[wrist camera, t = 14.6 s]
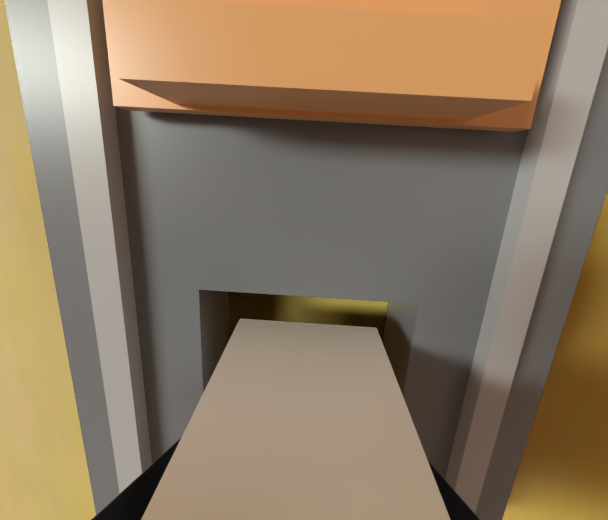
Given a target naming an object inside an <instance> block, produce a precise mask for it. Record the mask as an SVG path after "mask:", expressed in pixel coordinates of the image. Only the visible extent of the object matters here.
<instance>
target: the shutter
mask: <svg viewBox="0 0 608 520" xmlns="http://www.w3.org/2000/svg"><path fill="white" fill-rule="evenodd" d="M102 2H103V11H104V21H105V30H106V40H107V49H108V59H109V68H110V78H111V87H112V97H113V106H116V107H119V108H123V109H126V110H129V111H147V112H165V113H183V114H201V115H219V116H237V117H255V118H273V119H291V120H309V121H327V122H345V123H363V124H381V125H399V126H417V127H435V128H453V129H471V130H489V131H507V132H515V131H521V130H527V129H531V124H532V120H533V116H534V112H535V108H536V104H537V99H538V95H539V91H540V87H541V83H542V78H543V74H544V70H545V66H546V62H547V58H548V53H549V49H550V45H551V41H552V37H553V33H554V28H555V24H556V20H557V16H558V12H559V8H560V3H561V0H102Z"/></svg>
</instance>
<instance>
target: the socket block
mask: <svg viewBox="0 0 608 520" xmlns="http://www.w3.org/2000/svg"><path fill="white" fill-rule="evenodd" d="M4 1H5V7H6V12H7V18H8V23H9V29H10V35H11V40H12V46H13V51H14V57H15V63H16V68H17V74H18V79H19V85H20V91H21V96H22V102H23V107H24V113H25V119H26V124H27V130H28V135H29V141H30V146H31V152H32V158H33V163H34V169H35V174H36V180H37V186H38V191H39V197H40V202H41V208H42V214H43V219H44V225H45V230H46V236H47V242H48V247H49V253H50V258H51V264H52V269H53V275H54V281H55V286H56V292H57V297H58V303H59V309H60V314H61V320H62V325H63V331H64V337H65V342H66V348H67V353H68V359H69V365H70V370H71V376H72V381H73V387H74V393H75V398H76V404H77V409H78V415H79V420H80V426H81V432H82V437H83V443H84V448H85V454H86V460H87V465H88V471H89V476H90V482H91V488H92V493H93V499H94V504H95V510H96V515H97V514H98V513H99V512H100V511H101V510H102V509H104V508H105V507H106V506H107V505H108V504H109V503H110V502H111V501H112V500H113V499H114V498H116V497H117V496H118V495H119V494H120V493H121V492H122V491H123V490H124V489H125V488H126V487H128V486H129V485H130V484H131V483H132V482H133V481H134V480H135V479H136V478H137V477H138V476H140V475H141V474H142V473H143V472H144V471H145V470H146V469H147V468H148V467H149V466H150V465H152V464H153V463H154V462H155V461H156V460H157V459H158V458H159V457H160V456H161V455H162V454H164V453H165V452H166V451H167V450H168V449H169V448H170V447H171V446H172V445H173V444H174V443H176V442H177V441H178V440H179V439H180V438H181V437H182V435H183V433H184V431H185V429H186V427H187V425H188V423H189V421H190V419H191V417H192V415H193V413H194V411H195V409H196V407H197V405H198V403H199V401H200V399H201V397H202V395H203V393H204V391H205V388H206V386H207V384H208V382H209V380H210V378H211V376H212V374H213V372H214V370H215V368H216V366H217V364H218V362H219V360H220V358H221V356H222V354H223V352H224V350H225V348H226V346H227V344H228V342H229V335H228V292H242V293H258V294H274V295H290V296H306V297H321V298H337V299H353V300H369V301H384V302H388V306H387V313H386V320H385V327H384V334H383V341H382V343H383V345H384V348H385V351H386V353H387V356H388V358H389V361H390V364H391V366H392V369H393V371H394V374H395V377H396V379H397V382H398V385H399V387H400V390H401V392H402V395H403V398H404V400H405V403H406V405H407V408H408V411H409V413H410V416H411V418H412V421H413V424H414V426H415V429H416V431H417V434H418V437H419V439H420V442H421V444H422V447H423V450H424V452H425V455H426V457H427V460H428V461H429V462H430V463H431V464H432V466H433V467H434V468H435V469H436V470H437V471H438V472H439V473H440V475H441V476H442V477H443V478H444V479H445V480H446V481H447V483H448V484H449V485H450V486H451V487H452V488H453V489H454V491H455V492H456V493H457V494H458V495H459V496H460V497H461V499H462V500H463V501H464V502H465V503H466V504H467V505H468V506H469V508H470V509H471V510H472V511H473V512H474V513H475V514H476V516H477V517H478V518H479V519H480V520H502V518H503V514H504V511H505V508H506V505H507V502H508V499H509V496H510V493H511V489H512V486H513V483H514V480H515V477H516V474H517V471H518V468H519V464H520V461H521V458H522V455H523V452H524V449H525V446H526V443H527V439H528V436H529V433H530V430H531V427H532V424H533V421H534V418H535V414H536V411H537V408H538V405H539V402H540V399H541V396H542V393H543V389H544V386H545V383H546V380H547V377H548V374H549V371H550V368H551V364H552V361H553V358H554V355H555V352H556V349H557V346H558V343H559V339H560V336H561V333H562V330H563V327H564V324H565V321H566V318H567V314H568V311H569V308H570V305H571V302H572V299H573V296H574V293H575V289H576V286H577V283H578V280H579V277H580V274H581V271H582V267H583V264H584V261H585V258H586V255H587V252H588V249H589V246H590V242H591V239H592V236H593V233H594V230H595V227H596V224H597V221H598V217H599V214H600V211H601V208H602V205H603V202H604V199H605V196H606V192H607V189H608V0H561V3H560V8H559V12H558V16H557V20H556V24H555V28H554V33H553V37H552V41H551V45H550V49H549V53H548V58H547V62H546V66H545V70H544V74H543V78H542V83H541V87H540V91H539V95H538V99H537V104H536V108H535V112H534V116H533V120H532V124H531V129H527V130H521V131H515V132H507V131H489V130H471V129H453V128H435V127H417V126H399V125H381V124H363V123H345V122H327V121H309V120H291V119H273V118H255V117H237V116H219V115H201V114H183V113H165V112H147V111H129V110H126V109H123V108H119V107H116V106H113V97H112V87H111V78H110V68H109V59H108V49H107V40H106V30H105V21H104V11H103V2H102V0H4Z"/></svg>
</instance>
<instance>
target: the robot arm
mask: <svg viewBox="0 0 608 520" xmlns="http://www.w3.org/2000/svg"><path fill="white" fill-rule="evenodd" d="M180 439H181V438H180ZM180 439H179V440H178V441H177V442H176V443H174V444H173V445H172V446H171V447H170V448H169V449H168V450H167V451H166V452H165V453H164V454H162V455H161V456H160V457H159V458H158V459H157V460H156V461H155V462H154V463H153V464H152V465H150V466H149V467H148V468H147V469H146V470H145V471H144V472H143V473H142V474H141V475H140V476H138V477H137V478H136V479H135V480H134V481H133V482H132V483H131V484H130V485H129V486H128V487H126V488H125V489H124V490H123V491H122V492H121V493H120V494H119V495H118V496H117V497H116V498H114V499H113V500H112V501H111V502H110V503H109V504H108V505H107V506H106V507H105V508H104V509H102V510H101V511H100V512H99V513H98V514H97V515H96V516H95V517H94V518H93V519H92V520H141V519H142V517H143V515H144V513H145V511H146V509H147V507H148V505H149V503H150V500H151V498H152V496H153V494H154V492H155V490H156V488H157V486H158V484H159V482H160V480H161V478H162V476H163V474H164V472H165V470H166V468H167V466H168V464H169V462H170V460H171V458H172V456H173V454H174V452H175V450H176V448H177V446H178V443H179V441H180ZM428 463H429V465H430V468H431V470H432V473H433V476H434V478H435V481H436V483H437V486H438V489H439V491H440V494H441V496H442V499H443V502H444V504H445V507H446V509H447V512H448V515H449V517H450V520H480V519H479V518H478V517H477V516H476V514H475V513H474V512H473V511H472V510H471V509H470V508H469V506H468V505H467V504H466V503H465V502H464V501H463V500H462V499H461V497H460V496H459V495H458V494H457V493H456V492H455V491H454V489H453V488H452V487H451V486H450V485H449V484H448V483H447V481H446V480H445V479H444V478H443V477H442V476H441V475H440V473H439V472H438V471H437V470H436V469H435V468H434V467H433V466H432V464H431V463H430V462H429V461H428Z"/></svg>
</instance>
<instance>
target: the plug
mask: <svg viewBox="0 0 608 520" xmlns="http://www.w3.org/2000/svg"><path fill="white" fill-rule="evenodd" d="M141 520H450V517H449V515H448V512H447V509H446V507H445V504H444V502H443V499H442V496H441V494H440V491H439V489H438V486H437V483H436V481H435V478H434V476H433V473H432V470H431V468H430V465H429V463H428V460H427V457H426V455H425V452H424V450H423V447H422V444H421V442H420V439H419V437H418V434H417V431H416V429H415V426H414V424H413V421H412V418H411V416H410V413H409V411H408V408H407V405H406V403H405V400H404V398H403V395H402V392H401V390H400V387H399V385H398V382H397V379H396V377H395V374H394V371H393V369H392V366H391V364H390V361H389V358H388V356H387V353H386V351H385V348H384V345H383V343H382V340H381V338H380V335H379V332H378V330H377V328H376V327H361V326H346V325H330V324H315V323H300V322H285V321H270V320H254V319H239V321H238V323H237V325H236V327H235V329H234V331H233V334H232V336H231V338H230V340H229V342H228V344H227V346H226V348H225V350H224V352H223V354H222V356H221V358H220V360H219V362H218V364H217V366H216V368H215V370H214V372H213V374H212V376H211V378H210V380H209V382H208V384H207V386H206V388H205V391H204V393H203V395H202V397H201V399H200V401H199V403H198V405H197V407H196V409H195V411H194V413H193V415H192V417H191V419H190V421H189V423H188V425H187V427H186V429H185V431H184V433H183V435H182V437H181V439H180V441H179V443H178V446H177V448H176V450H175V452H174V454H173V456H172V458H171V460H170V462H169V464H168V466H167V468H166V470H165V472H164V474H163V476H162V478H161V480H160V482H159V484H158V486H157V488H156V490H155V492H154V494H153V496H152V498H151V500H150V503H149V505H148V507H147V509H146V511H145V513H144V515H143V517H142V519H141Z"/></svg>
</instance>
